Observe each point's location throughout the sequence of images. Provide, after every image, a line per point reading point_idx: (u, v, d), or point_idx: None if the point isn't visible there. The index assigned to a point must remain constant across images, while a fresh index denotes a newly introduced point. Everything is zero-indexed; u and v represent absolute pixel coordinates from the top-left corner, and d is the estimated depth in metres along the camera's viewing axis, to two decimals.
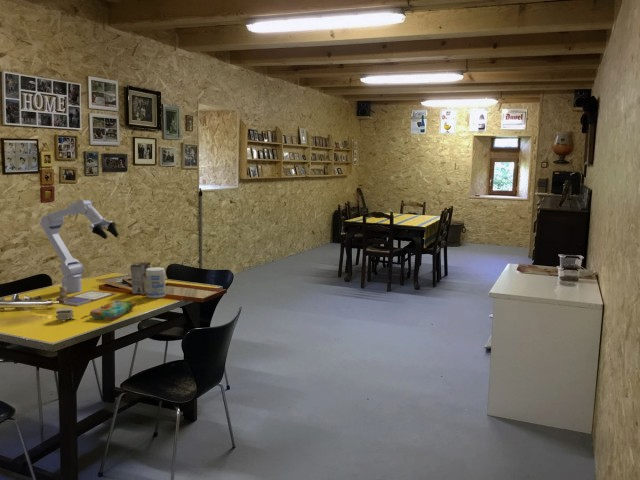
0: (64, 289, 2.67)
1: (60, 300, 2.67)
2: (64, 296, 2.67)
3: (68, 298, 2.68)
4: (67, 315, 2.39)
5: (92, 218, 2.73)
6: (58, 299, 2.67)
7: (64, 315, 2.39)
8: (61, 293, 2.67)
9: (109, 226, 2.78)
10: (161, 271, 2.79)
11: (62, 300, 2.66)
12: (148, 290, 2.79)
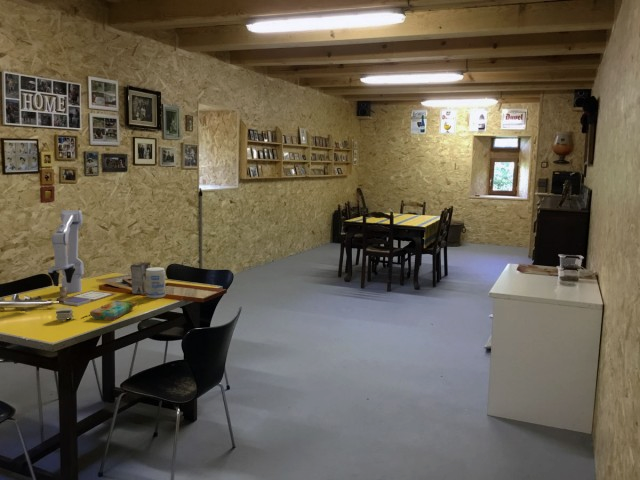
0: (64, 289, 2.67)
1: (60, 300, 2.67)
2: (64, 296, 2.67)
3: (68, 298, 2.68)
4: (67, 315, 2.39)
5: (57, 259, 2.63)
6: (58, 299, 2.67)
7: (64, 315, 2.39)
8: (61, 293, 2.67)
9: (68, 270, 2.70)
10: (161, 271, 2.79)
11: (62, 300, 2.66)
12: (148, 290, 2.79)
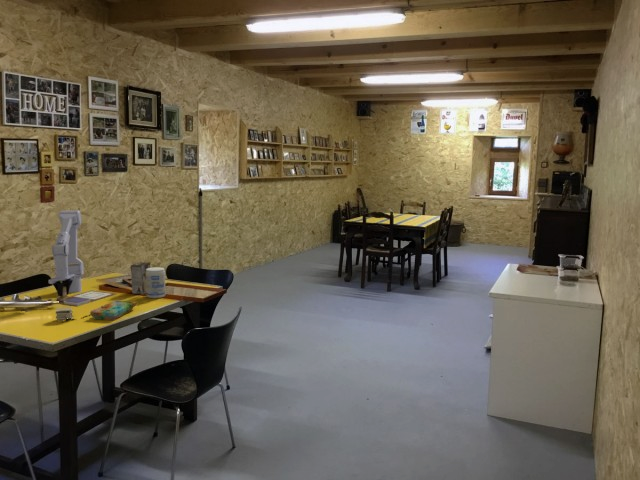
0: (64, 289, 2.67)
1: (60, 300, 2.67)
2: (64, 296, 2.67)
3: (68, 298, 2.68)
4: (66, 315, 2.39)
5: (58, 270, 2.64)
6: (58, 299, 2.67)
7: (63, 315, 2.39)
8: None
9: (65, 281, 2.69)
10: (161, 271, 2.79)
11: (62, 300, 2.66)
12: (148, 290, 2.79)
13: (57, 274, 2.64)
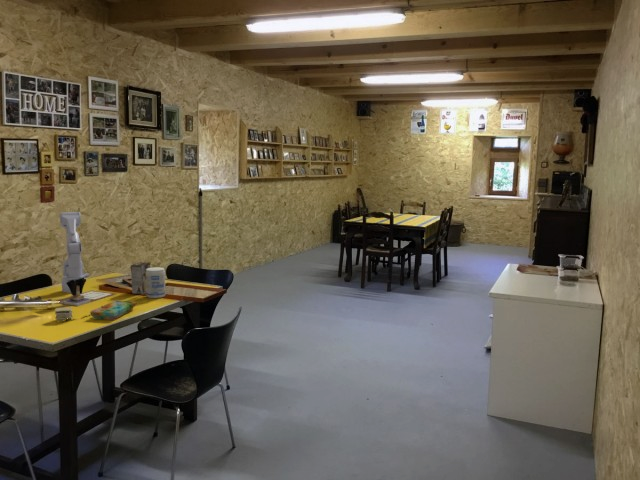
0: (77, 288, 2.64)
1: (73, 299, 2.63)
2: (77, 295, 2.64)
3: (81, 297, 2.65)
4: (66, 315, 2.39)
5: (71, 269, 2.60)
6: (71, 298, 2.64)
7: (63, 315, 2.39)
8: None
9: (79, 280, 2.65)
10: (161, 271, 2.79)
11: (75, 299, 2.63)
12: (148, 290, 2.79)
13: (71, 273, 2.61)
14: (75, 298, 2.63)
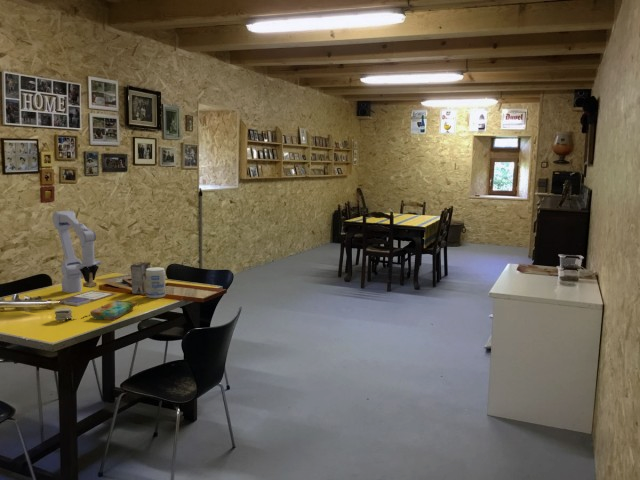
0: (90, 275, 2.75)
1: (86, 285, 2.75)
2: (90, 282, 2.75)
3: (94, 284, 2.76)
4: (66, 315, 2.39)
5: (85, 256, 2.72)
6: (84, 284, 2.75)
7: (63, 315, 2.39)
8: None
9: (92, 267, 2.77)
10: (161, 271, 2.79)
11: (88, 285, 2.74)
12: (148, 290, 2.79)
13: (84, 260, 2.72)
14: (88, 284, 2.74)
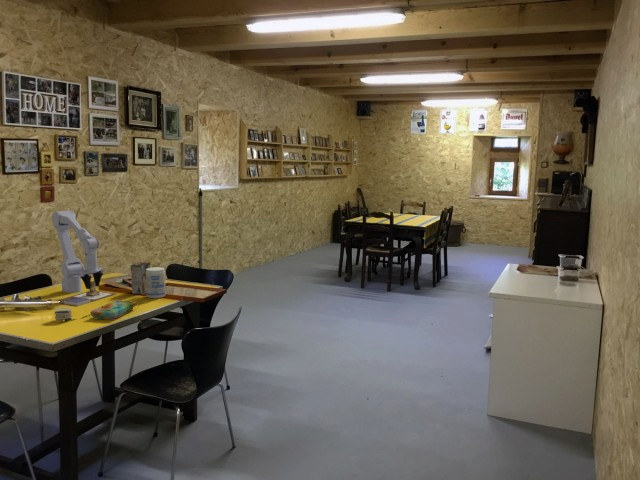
0: (93, 284, 2.78)
1: (89, 294, 2.78)
2: (93, 290, 2.78)
3: (97, 292, 2.79)
4: (65, 315, 2.38)
5: (87, 263, 2.75)
6: (87, 293, 2.78)
7: (62, 315, 2.39)
8: (90, 287, 2.78)
9: (96, 274, 2.81)
10: (161, 271, 2.79)
11: (91, 294, 2.77)
12: (148, 290, 2.79)
13: (87, 267, 2.75)
14: (91, 293, 2.77)
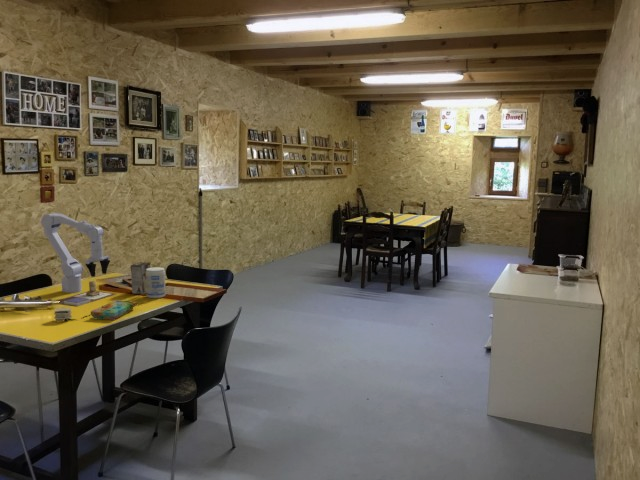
0: (93, 284, 2.78)
1: (89, 294, 2.78)
2: (93, 290, 2.78)
3: (97, 292, 2.79)
4: (65, 315, 2.38)
5: (93, 251, 2.80)
6: (87, 293, 2.78)
7: (62, 315, 2.39)
8: (90, 287, 2.78)
9: (103, 261, 2.87)
10: (161, 271, 2.79)
11: (91, 294, 2.77)
12: (148, 290, 2.79)
13: (93, 255, 2.81)
14: (91, 293, 2.77)
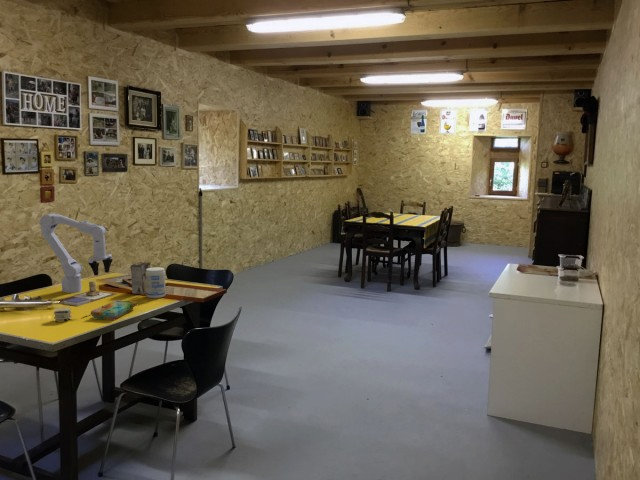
0: (93, 284, 2.78)
1: (89, 294, 2.78)
2: (93, 290, 2.78)
3: (97, 292, 2.79)
4: (65, 315, 2.38)
5: (96, 250, 2.83)
6: (87, 293, 2.78)
7: (62, 315, 2.39)
8: (90, 287, 2.78)
9: (106, 260, 2.90)
10: (161, 271, 2.79)
11: (91, 294, 2.77)
12: (148, 290, 2.79)
13: (96, 254, 2.84)
14: (91, 293, 2.77)
